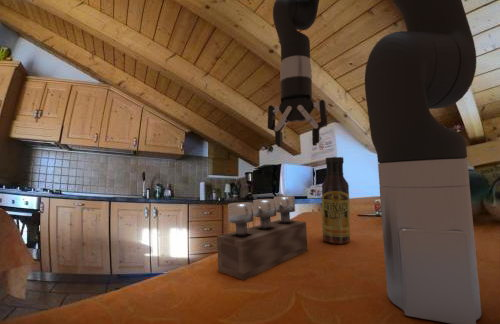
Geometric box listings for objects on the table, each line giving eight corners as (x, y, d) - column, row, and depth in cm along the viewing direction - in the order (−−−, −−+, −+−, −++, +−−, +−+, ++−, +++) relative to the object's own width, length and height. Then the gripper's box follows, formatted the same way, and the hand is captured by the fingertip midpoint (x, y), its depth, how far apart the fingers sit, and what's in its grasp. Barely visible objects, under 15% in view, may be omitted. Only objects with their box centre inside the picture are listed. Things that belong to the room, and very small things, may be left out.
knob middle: (272, 239, 46) (270, 201, 46) (250, 238, 48) (249, 201, 48) (280, 234, 50) (278, 198, 50) (260, 232, 52) (258, 198, 52)
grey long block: (283, 245, 58) (281, 219, 58) (307, 250, 53) (305, 221, 53) (218, 270, 44) (216, 236, 44) (243, 280, 39) (242, 241, 40)
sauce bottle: (322, 244, 57) (317, 157, 58) (323, 237, 63) (318, 158, 64) (353, 245, 55) (347, 155, 56) (351, 238, 61) (345, 157, 62)
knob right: (292, 232, 51) (290, 197, 51) (272, 231, 52) (270, 197, 53) (298, 228, 54) (296, 195, 55) (279, 227, 56) (277, 196, 57)
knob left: (247, 248, 41) (245, 205, 42) (224, 246, 43) (223, 205, 43) (258, 241, 45) (256, 202, 45) (237, 239, 47) (235, 202, 47)
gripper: (263, 79, 61) (264, 146, 61) (324, 70, 55) (325, 144, 55) (272, 87, 68) (273, 148, 68) (327, 80, 62) (329, 145, 62)
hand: (297, 146), depth 61 cm, fingers open, 8 cm apart
